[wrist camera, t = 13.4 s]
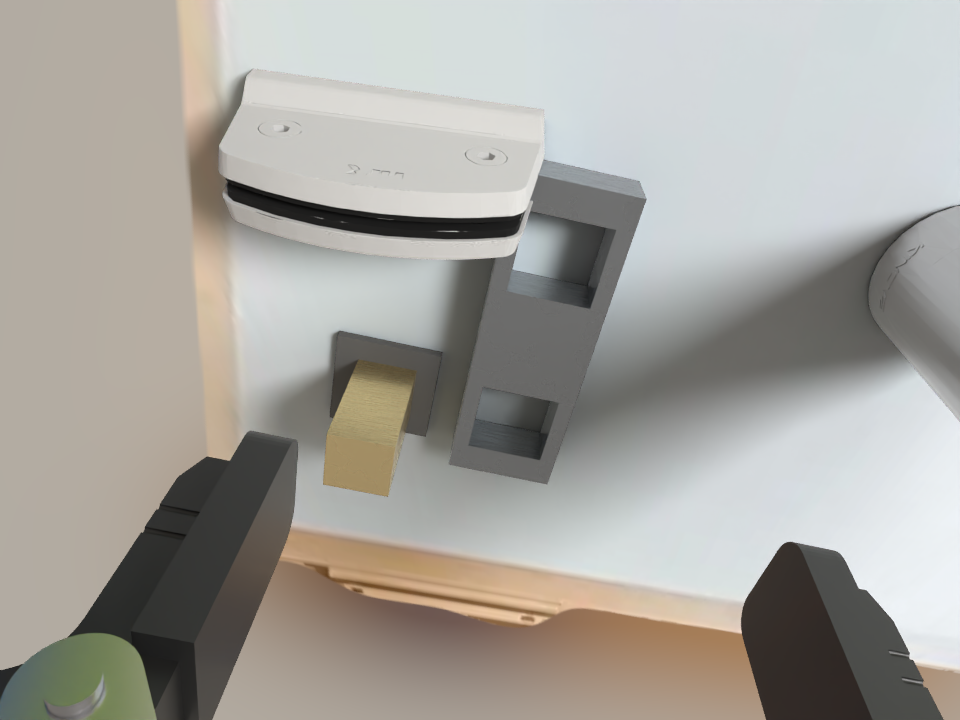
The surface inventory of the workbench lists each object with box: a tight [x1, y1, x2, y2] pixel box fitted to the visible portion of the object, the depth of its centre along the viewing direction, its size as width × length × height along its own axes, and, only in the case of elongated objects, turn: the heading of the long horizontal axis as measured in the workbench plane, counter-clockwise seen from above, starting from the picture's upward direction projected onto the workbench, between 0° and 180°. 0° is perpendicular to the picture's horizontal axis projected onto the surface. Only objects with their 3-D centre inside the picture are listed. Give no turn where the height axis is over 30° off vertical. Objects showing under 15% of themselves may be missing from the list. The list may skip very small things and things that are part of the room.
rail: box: [449, 160, 646, 484], centre depth 42 cm, size 7×21×3 cm, turn 169°
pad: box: [330, 331, 443, 437], centre depth 47 cm, size 7×7×1 cm
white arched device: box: [218, 69, 545, 260], centre depth 35 cm, size 17×5×10 cm, turn 83°
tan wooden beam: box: [323, 360, 417, 497], centre depth 43 cm, size 4×4×8 cm
